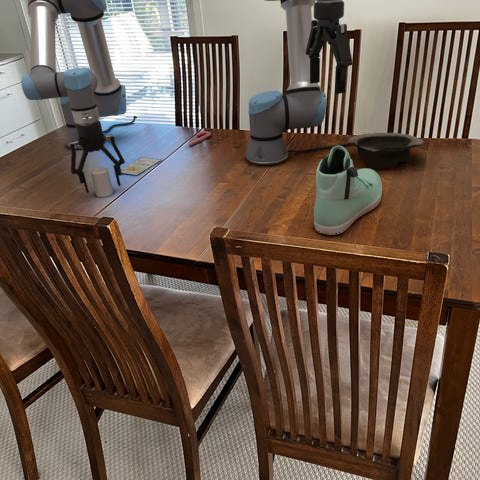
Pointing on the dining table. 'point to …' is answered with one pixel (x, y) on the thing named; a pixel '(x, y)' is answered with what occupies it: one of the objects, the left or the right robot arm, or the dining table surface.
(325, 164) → the sneaker
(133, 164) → the baking ingredient package
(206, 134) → the candy cane
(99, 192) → the canister
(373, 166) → the stone bowl
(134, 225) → the dining table surface
